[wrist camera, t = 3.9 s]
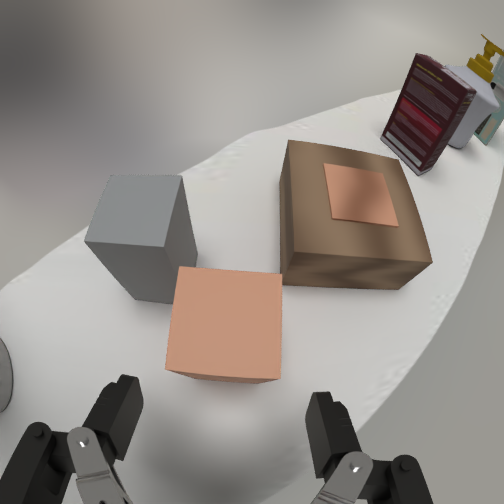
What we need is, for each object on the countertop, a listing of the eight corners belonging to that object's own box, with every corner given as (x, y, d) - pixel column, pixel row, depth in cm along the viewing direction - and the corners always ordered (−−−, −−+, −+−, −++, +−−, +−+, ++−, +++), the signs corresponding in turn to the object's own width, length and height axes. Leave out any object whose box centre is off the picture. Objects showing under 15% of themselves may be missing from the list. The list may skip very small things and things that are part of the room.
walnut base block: (280, 284, 24) (294, 250, 18) (279, 181, 30) (288, 138, 24) (398, 289, 24) (434, 261, 19) (377, 194, 30) (399, 158, 25)
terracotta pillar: (194, 378, 20) (165, 369, 11) (200, 318, 22) (179, 266, 13) (258, 383, 20) (280, 378, 11) (261, 323, 22) (282, 273, 13)
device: (474, 117, 52) (511, 44, 25) (493, 134, 49) (533, 62, 23) (463, 125, 46) (508, 35, 20) (485, 146, 43) (536, 58, 17)
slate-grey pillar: (135, 299, 22) (83, 240, 13) (146, 249, 25) (110, 175, 16) (190, 306, 22) (163, 247, 14) (197, 253, 25) (181, 175, 16)
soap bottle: (466, 166, 37) (526, 68, 15) (413, 125, 40) (460, 19, 18) (470, 144, 42) (517, 62, 20) (426, 109, 45) (464, 23, 23)
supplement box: (431, 169, 34) (479, 92, 20) (417, 177, 33) (469, 90, 19) (394, 133, 37) (430, 55, 24) (377, 138, 36) (414, 51, 22)
